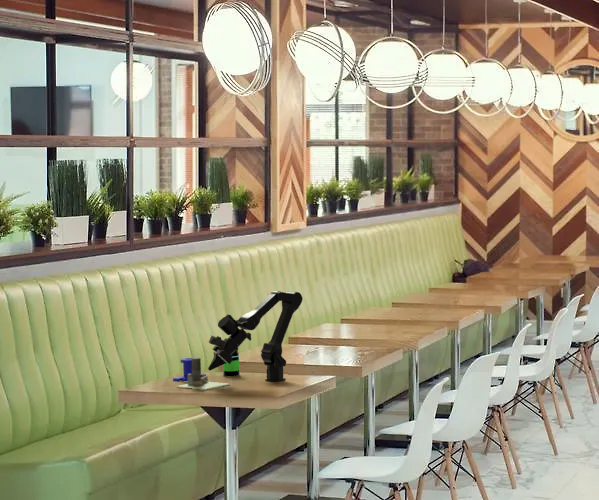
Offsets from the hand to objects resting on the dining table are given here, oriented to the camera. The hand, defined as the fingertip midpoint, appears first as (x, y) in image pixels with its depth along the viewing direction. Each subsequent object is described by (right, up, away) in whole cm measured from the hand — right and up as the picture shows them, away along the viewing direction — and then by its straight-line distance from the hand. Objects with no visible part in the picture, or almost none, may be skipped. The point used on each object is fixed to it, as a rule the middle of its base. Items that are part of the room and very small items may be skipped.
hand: (208, 369), depth 502 cm
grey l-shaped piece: (-4, -6, +5) cm, 9 cm away
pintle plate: (-2, -7, +3) cm, 8 cm away
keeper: (-6, -7, +4) cm, 10 cm away
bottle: (+8, -6, +31) cm, 33 cm away
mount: (-10, -7, +25) cm, 28 cm away
